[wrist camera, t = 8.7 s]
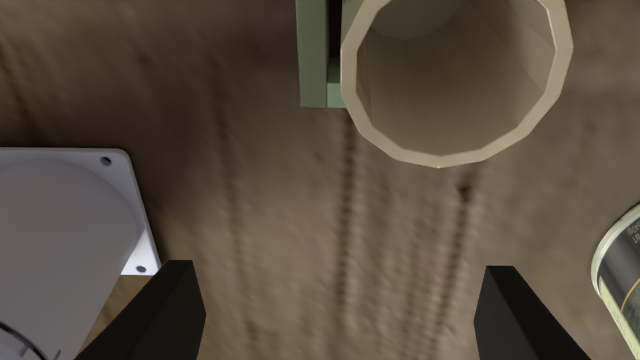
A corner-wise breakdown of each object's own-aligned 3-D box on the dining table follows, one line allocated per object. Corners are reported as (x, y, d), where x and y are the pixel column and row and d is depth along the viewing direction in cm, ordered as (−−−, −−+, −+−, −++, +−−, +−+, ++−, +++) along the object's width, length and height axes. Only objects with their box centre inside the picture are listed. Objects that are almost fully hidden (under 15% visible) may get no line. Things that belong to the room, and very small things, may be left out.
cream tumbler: (343, 44, 19) (339, 167, 11) (344, -95, 16) (341, -52, 9) (462, 44, 18) (539, 170, 11) (484, -98, 16) (605, -56, 8)
